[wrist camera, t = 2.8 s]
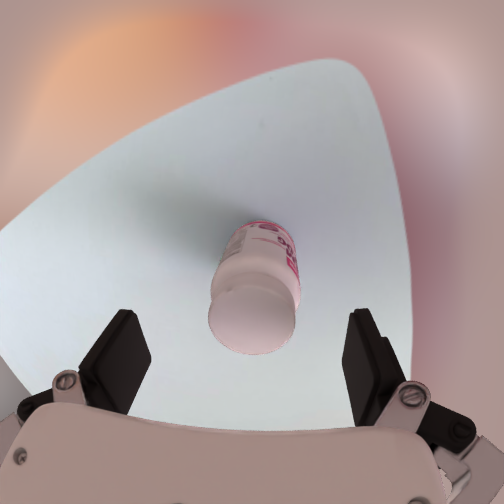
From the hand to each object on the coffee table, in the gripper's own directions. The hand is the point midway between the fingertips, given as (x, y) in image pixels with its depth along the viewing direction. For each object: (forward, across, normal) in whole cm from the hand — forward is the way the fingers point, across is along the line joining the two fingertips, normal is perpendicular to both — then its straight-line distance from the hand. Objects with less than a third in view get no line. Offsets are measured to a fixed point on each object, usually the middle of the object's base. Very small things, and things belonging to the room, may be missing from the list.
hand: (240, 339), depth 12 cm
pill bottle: (+10, 0, 0) cm, 10 cm away
